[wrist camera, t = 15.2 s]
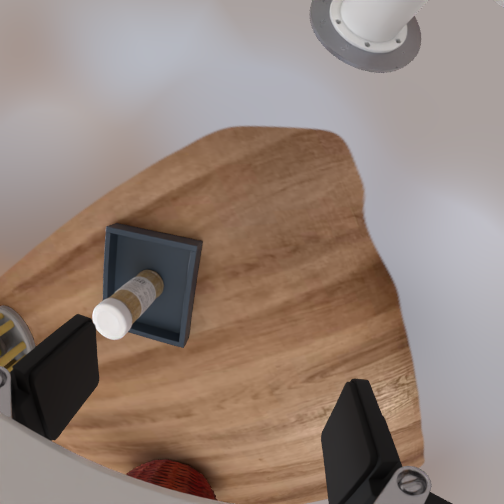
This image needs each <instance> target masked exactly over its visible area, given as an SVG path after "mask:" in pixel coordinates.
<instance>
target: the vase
mask: <svg viewBox="0 0 504 504" xmlns="http://www.w3.org/2000/svg"><path fill="white" fill-rule="evenodd" d="M127 475H128V476H130V477H133V478H136V479H139V480H142V481H145V482H148V483H151V484H154V485H157V486H160V487H164V488H167V489H171V490H174V491H178V492H182V493H186V494H190V495H194V496H198V497H202V498H207V499H212V500H217V499H216V495H214V491H213V490H212V489H211V486H210V485H209V483H208V482H207V480H206V479H205V478H204V475H203V474H201V473H200V472H198V471H196V470H195V469H193V468H192V467H190V466H189V465H186V464H183V463H179V462H176V461H172V460H169V459H165V460H152V461H151V462H146V464H141V465H140V466H137V467H136V468H135V469H133V470H132V471H129V473H127ZM217 501H218V500H217Z"/></svg>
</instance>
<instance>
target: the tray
mask: <svg viewBox="0 0 504 504" xmlns="http://www.w3.org/2000/svg"><path fill="white" fill-rule="evenodd" d="M202 243H203V241H199V240H194V239H189V238H185V237H180V236H175V235H171V234H166V233H161V232H156V231H152V230H147V229H142V228H138V227H133V226H128V225H124V224H119V223H115V224H112V225H109V226H107V227H106V238H105V253H104V274H103V300H105V299H107V298H109V297H110V296H112V295H113V294H114V293H115V292H116V291H117V290H118V289H119V288H121V287H122V286H123V285H124V284H126V283H127V282H128V281H130V280H131V279H132V278H134V277H136V276H137V275H138V274H139V273H140V272H142V271H143V270H152V271H155V272H156V273H158V275H160V277H161V278H162V280H163V284H164V287H163V292H162V293H161V295H160V296H159V297H157V298H156V299H155V300H154V302H153V303H152V304H151V305H150V306H149V307H148V308H147V310H146V311H145V312H144V313H143V314H142V315H141V316H140V317H139V318H138V319H137V320H136V321H135V322H134V323H133V324H132V326H131V328H130V330H129V331H128V332H130V333H133V334H136V335H140V336H143V337H146V338H150V339H153V340H157V341H160V342H164V343H167V344H171V345H174V346H178V347H182V348H184V346H185V344H186V342H187V340H188V338H189V332H190V324H191V317H192V309H193V302H194V295H195V288H196V281H197V275H198V268H199V262H200V255H201V249H202Z"/></svg>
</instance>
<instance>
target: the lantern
mask: <svg viewBox="0 0 504 504" xmlns="http://www.w3.org/2000/svg"><path fill="white" fill-rule="evenodd" d="M34 348H35V344H34V340H33V337H32V335H31V333H30V330H29V328H28V327H27V325H26V323H25V322H24V320H23V319H22V318H21V317H20V316H19V314H18V313H17V312H16V311H14V310H13V309H12V308H10V307H8V306H4V305H3V306H0V366H2V367H3V366H4V365H5V366H4V368H6V369H7V370H8V371H9V372H11V371H12V370H13V368H12V366H13V365H15V364H16V363H17V362H18V361H19V360H20V359H22V358H23V357H24V356H25V355H26V354H28V353H29V352H30V351H31V350H33V349H34ZM10 360H11V361H10ZM9 361H10V362H9ZM8 362H9V363H8ZM7 363H8V364H7ZM6 364H7V365H6Z"/></svg>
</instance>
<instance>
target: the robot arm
mask: <svg viewBox="0 0 504 504" xmlns="http://www.w3.org/2000/svg"><path fill="white" fill-rule="evenodd" d="M494 1H495V2H496V3H497V4H499V5H500V6H502V7H503V8H504V0H494ZM427 2H428V0H332V3H331V5H330V11H329V13H330V19H331V22H332V24H333V26H334V28H335V30H336V31H337V32H338V33H339V35H340V36H341V37H343V38H344V39H345V40H346V41H347V42H349V43H350V44H352V45H353V46H355V47H357V48H359V49H362V50H365V51H368V52H372V53H388V52H391V51H394V50H396V49H397V48H399V47H400V46H401V45H402V44H403V42H404V41H405V39H406V36H407V23H408V22H409V21H410V20H411V19H412V18H413V17H414V16H415V14H416V13H417V12H418V11H419V10H420V9H421V8H422V7H423V6H424V5H425V4H426V3H427ZM337 23H338V24H337ZM365 45H366V46H367V47H366V46H365ZM12 368H13V370H12V371H11V372H9V371H8V370H7V369H6V368H4V367H2V366H0V504H233V503H227V502H222V501H217V500H212V499H207V498H202V497H198V496H194V495H190V494H186V493H182V492H178V491H174V490H171V489H167V488H164V487H160V486H157V485H154V484H151V483H148V482H145V481H142V480H139V479H136V478H133V477H130V476H128V475H125V474H122V473H120V472H117V471H114V470H112V469H109V468H107V467H105V466H102V465H100V464H97V463H95V462H93V461H91V460H88V459H86V458H84V457H82V456H80V455H78V454H76V453H74V452H71V451H69V450H67V449H65V448H64V447H62V446H60V445H58V444H56V443H54V442H52V441H51V440H56V439H57V438H58V437H59V435H60V434H61V433H62V431H63V430H64V429H65V427H66V426H67V425H68V423H69V422H70V421H71V419H72V418H73V417H74V415H75V414H76V413H77V411H78V410H79V409H80V408H81V406H82V405H83V404H84V402H85V401H86V400H87V398H88V397H89V396H90V395H91V393H92V392H93V391H94V389H95V388H96V387H97V385H98V383H99V371H98V359H97V344H96V326H95V324H94V323H93V322H92V319H91V318H88V317H85V316H82V315H80V314H77V315H75V316H74V317H73V318H71V319H70V320H69V321H67V322H66V323H65V324H64V325H62V326H61V327H60V328H59V329H57V330H56V331H55V332H54V333H52V334H51V335H50V336H49V337H47V338H46V339H45V340H44V341H42V342H41V343H40V344H39V345H37V346H36V347H35V348H34V349H33V350H31V351H30V352H29V353H28V354H26V355H25V356H24V357H23V358H22V359H20V360H19V361H18V362H17V363H16V364H15V365H13V366H12ZM321 442H322V450H323V457H324V466H325V474H326V482H327V491H328V500H329V504H452V503H450V502H447V501H446V500H444V499H442V498H440V497H439V496H437V495H435V494H433V493H431V492H430V489H431V480H430V478H429V477H428V475H427V474H426V473H425V472H424V471H422V470H421V469H419V468H416V467H413V466H405V467H402V464H401V462H400V459H399V456H398V453H397V450H396V448H395V445H394V442H393V439H392V437H391V434H390V431H389V429H388V426H387V423H386V421H385V418H384V417H383V416H382V414H381V411H380V408H379V406H378V403H377V401H376V398H375V396H374V393H373V390H372V388H371V385H370V383H369V381H368V380H363V379H352V380H351V381H350V382H347V383H346V384H345V386H344V388H343V390H342V392H341V394H340V397H339V399H338V401H337V403H336V405H335V407H334V409H333V411H332V413H331V415H330V417H329V419H328V421H327V423H326V425H325V427H324V429H323V431H322V435H321Z"/></svg>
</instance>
